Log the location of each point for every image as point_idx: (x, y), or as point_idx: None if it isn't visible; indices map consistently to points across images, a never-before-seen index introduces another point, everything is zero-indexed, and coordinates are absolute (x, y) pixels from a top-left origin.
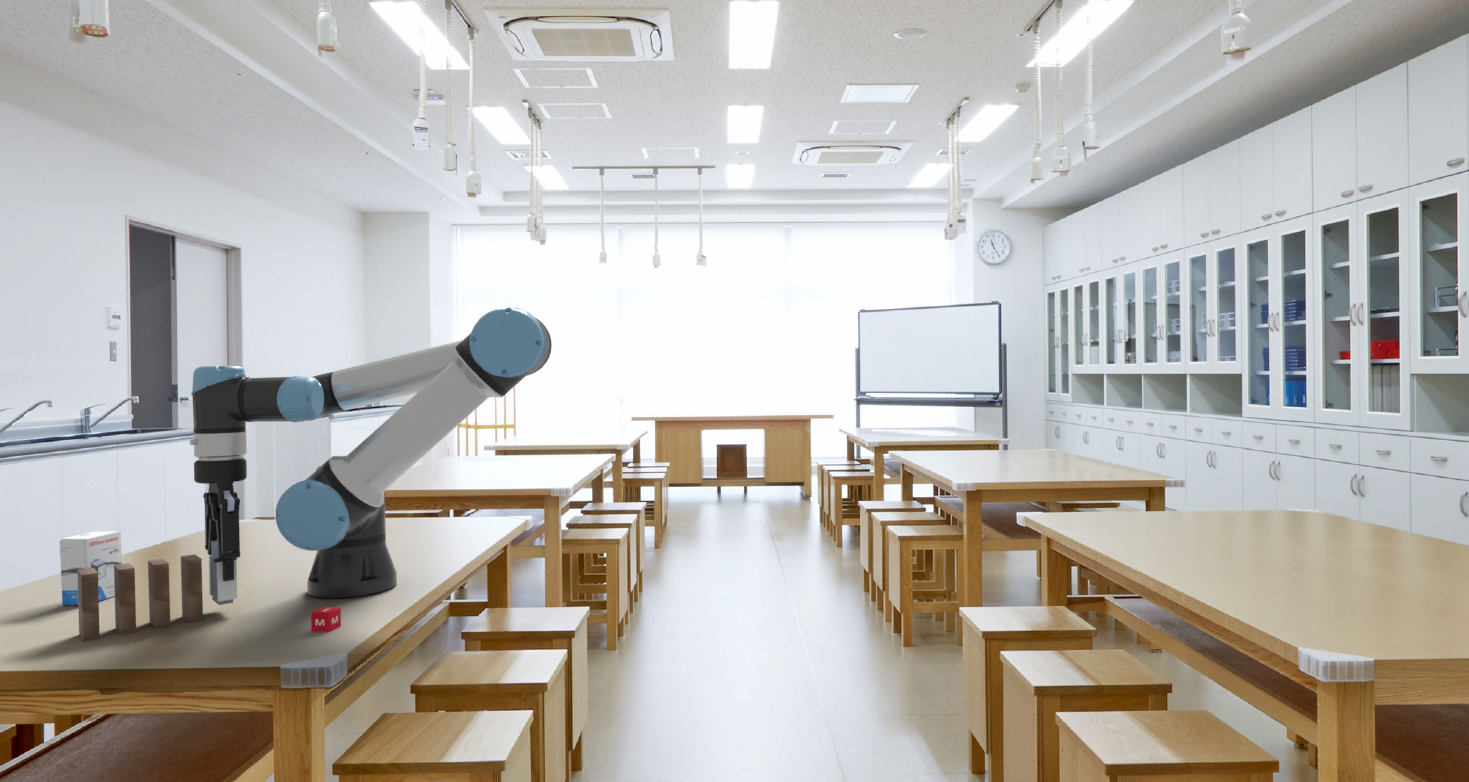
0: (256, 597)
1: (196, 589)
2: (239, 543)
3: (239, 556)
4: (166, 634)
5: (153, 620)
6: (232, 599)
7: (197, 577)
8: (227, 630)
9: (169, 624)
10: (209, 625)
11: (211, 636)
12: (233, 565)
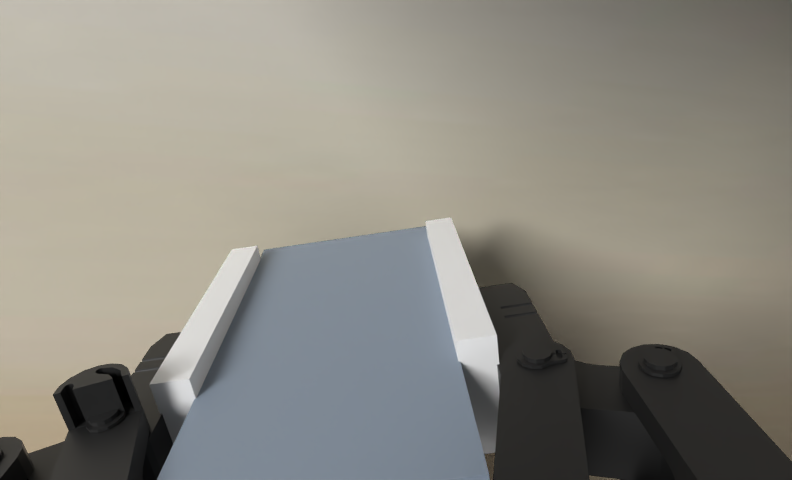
0: (79, 72)
1: None
2: (763, 436)
3: (673, 348)
4: None
5: None
6: (426, 235)
7: None
8: (709, 245)
9: None
10: (560, 300)
11: (753, 300)
12: (551, 338)
